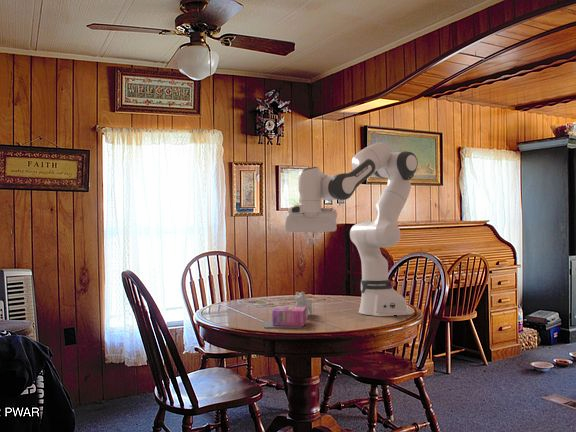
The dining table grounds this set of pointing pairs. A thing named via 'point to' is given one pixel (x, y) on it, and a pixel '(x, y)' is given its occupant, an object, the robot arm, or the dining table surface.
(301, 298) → the dog figurine
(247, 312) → the dining table surface
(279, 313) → the box
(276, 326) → the mat
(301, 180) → the robot arm
